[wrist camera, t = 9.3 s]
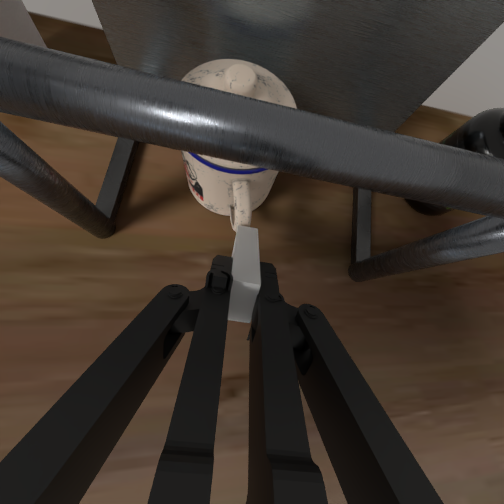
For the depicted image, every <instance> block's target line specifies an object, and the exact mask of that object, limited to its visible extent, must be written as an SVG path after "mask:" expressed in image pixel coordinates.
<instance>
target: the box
mask: <svg viewBox="0 0 504 504" xmlns="http://www.w3.org/2000/svg"><path fill="white" fill-rule="evenodd" d="M92 2H93V5H94V7H95V9H96V12H97V15H98V17H99V20H100V22H101V25H102V27H103V30H104V32H105V35H106V37H107V40H108V43H109V45H110V48H111V50H112V53H113V55H114V58H115V60H116V63H117V65H115V64H111V63H107V62H103V61H99V60H95V59H91V58H86V57H82V56H78V55H74V54H70V53H66V52H62V51H58V50H54V49H49V48H45V47H41V46H37V45H33V44H29V43H25V42H21V41H17V40H13V39H8V38H4V37H0V112H3V113H7V114H12V115H17V116H21V117H26V118H31V119H35V120H40V121H45V122H50V123H54V124H59V125H64V126H68V127H73V128H78V129H82V130H87V131H92V132H96V133H101V134H106V135H111V136H115V137H118V140H117V143H116V146H115V149H114V152H113V155H112V158H111V161H110V164H109V167H108V170H107V173H106V176H105V179H104V182H103V185H102V188H101V191H100V193H99V196H98V199H97V202H96V205H94V204H93V203H92V202H91V201H90V200H88V199H87V198H86V197H85V196H84V195H83V194H82V193H81V192H79V191H78V190H77V189H76V188H75V187H74V186H73V185H71V184H70V183H69V182H68V181H67V180H66V179H65V178H64V177H62V176H61V175H60V174H59V173H58V172H57V171H56V170H55V169H53V168H52V167H51V166H50V165H49V164H48V163H47V162H45V161H44V160H43V159H42V158H41V157H40V156H39V155H38V154H36V153H35V152H34V151H33V150H32V149H31V148H30V147H29V146H27V145H26V144H25V143H24V142H23V141H22V140H21V139H19V138H18V137H17V136H16V135H15V134H14V133H13V132H12V131H10V130H9V129H8V128H7V127H6V126H5V125H4V124H3V123H1V122H0V177H2V178H4V179H5V180H7V181H8V182H10V183H12V184H13V185H15V186H16V187H18V188H20V189H21V190H23V191H24V192H26V193H27V194H29V195H31V196H32V197H34V198H35V199H37V200H39V201H40V202H42V203H43V204H45V205H47V206H48V207H50V208H51V209H53V210H54V211H56V212H58V213H59V214H61V215H62V216H64V217H66V218H67V219H69V220H70V221H72V222H74V223H75V224H77V225H78V226H80V227H82V228H83V229H85V230H86V231H88V232H89V233H91V234H93V235H94V236H96V237H98V238H108V237H110V236H111V235H112V234H113V233H114V231H115V223H114V222H115V219H116V215H117V212H118V209H119V206H120V202H121V199H122V196H123V193H124V189H125V186H126V183H127V180H128V176H129V173H130V170H131V166H132V163H133V160H134V157H135V153H136V150H137V147H138V144H139V142H143V143H148V144H153V145H157V146H162V147H167V148H172V149H176V150H181V151H186V152H190V153H195V154H200V155H204V156H209V157H214V158H218V159H223V160H228V161H233V162H237V163H242V164H247V165H251V166H256V167H261V168H265V169H270V170H275V171H279V172H284V173H289V174H294V175H298V176H303V177H308V178H312V179H317V180H322V181H326V182H331V183H336V184H340V185H345V186H350V187H354V189H353V216H352V244H351V265H350V266H349V269H348V273H349V276H350V277H351V279H352V280H354V281H356V282H361V281H366V280H370V279H375V278H380V277H385V276H390V275H395V274H399V273H404V272H409V271H414V270H419V269H424V268H429V267H433V266H438V265H443V264H448V263H453V262H458V261H463V260H467V259H472V258H477V257H482V256H487V255H492V254H497V253H501V252H504V159H501V158H497V157H493V156H489V155H485V154H480V153H476V152H472V151H468V150H464V149H460V148H456V147H452V146H448V145H443V144H439V143H435V142H431V141H427V140H423V139H419V138H415V137H411V136H407V135H402V134H398V133H394V132H395V131H396V130H397V129H398V128H399V127H400V126H401V125H402V124H403V123H404V122H405V121H406V120H407V119H408V118H409V117H410V115H411V114H412V113H413V112H414V111H415V110H416V109H417V108H418V107H419V106H420V105H421V104H422V103H423V102H424V101H425V100H426V99H427V98H428V97H429V96H430V95H431V94H432V93H433V92H434V91H435V90H436V89H437V88H438V87H439V86H440V85H441V84H442V83H443V82H444V81H445V80H446V79H447V78H448V77H449V76H450V75H451V74H452V73H453V72H454V71H455V70H456V69H457V68H458V67H459V66H460V65H461V64H462V63H463V62H464V61H465V60H466V59H467V58H468V57H469V56H470V55H471V54H472V53H473V52H474V51H475V50H476V49H477V48H478V47H479V46H480V45H481V44H482V43H483V42H484V41H485V40H486V39H487V38H488V37H489V36H490V35H491V34H492V33H493V32H494V31H495V30H496V29H497V28H498V27H499V26H500V25H501V24H502V23H503V22H504V0H92ZM219 59H237V60H243V61H247V62H251V63H254V64H256V65H259V66H261V67H263V68H265V69H267V70H268V71H270V72H271V73H273V74H274V75H275V76H276V77H278V78H279V79H280V80H281V81H282V82H283V83H284V85H285V86H286V87H287V88H288V90H289V91H290V93H291V95H292V96H293V98H294V101H295V104H296V107H297V109H296V108H292V107H288V106H283V105H279V104H275V103H271V102H267V101H263V100H259V99H255V98H251V97H246V96H242V95H238V94H234V93H230V92H226V91H222V90H218V89H214V88H210V87H205V86H201V85H197V84H193V83H189V82H185V81H181V80H182V79H183V78H184V77H185V75H186V74H188V73H189V72H190V71H191V70H193V69H194V68H196V67H197V66H199V65H201V64H204V63H206V62H209V61H213V60H219ZM371 191H373V192H378V193H383V194H387V195H392V196H397V197H401V198H406V199H411V200H416V201H420V202H425V203H430V204H434V205H439V206H444V207H448V208H453V209H458V210H462V211H467V212H472V213H477V214H481V215H486V217H483V218H480V219H478V220H475V221H472V222H469V223H466V224H463V225H460V226H458V227H455V228H452V229H449V230H446V231H443V232H440V233H438V234H435V235H432V236H429V237H426V238H423V239H420V240H418V241H415V242H412V243H409V244H406V245H403V246H400V247H398V248H395V249H392V250H389V251H386V252H383V253H381V254H378V255H375V256H372V257H370V242H371Z"/></svg>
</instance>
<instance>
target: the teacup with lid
mask: <svg viewBox="0 0 504 504" xmlns="http://www.w3.org/2000/svg"><path fill="white" fill-rule="evenodd" d="M181 81H185V82H189V83H193V84H197V85H201V86H205V87H210V88H214V89H218V90H222V91H226V92H230V93H234V94H238V95H242V96H246V97H251V98H255V99H259V100H263V101H267V102H271V103H275V104H279V105H283V106H288V107H292V108H296V109H297V107H296V104H295V101H294V98H293V96H292V95H291V93H290V91H289V90H288V88H287V87H286V86H285V85H284V83H283V82H282V81H281V80H280V79H279V78H278V77H276V76H275V75H274V74H273V73H271V72H270V71H268V70H267V69H265V68H263V67H261V66H259V65H256V64H254V63H251V62H247V61H243V60H237V59H219V60H213V61H209V62H206V63H204V64H201V65H199V66H197V67H196V68H194V69H193V70H191V71H190V72H189V73H188V74H186V75H185V77H184V78H183V79H182V80H181ZM181 152H182V156H183V161H184V166H185V171H186V175H187V180H188V185H189V188H190V190H191V192H192V194H193V195H194V197H195V198H196V200H197V201H198V202H199V203H200V204H201V205H203V206H204V207H205V208H207V209H208V210H210V211H212V212H215V213H218V214H221V215H227V216H230V219H231V225H232V228H233V230H234V231H235V232H237V227H238V225H241V226H246V227H250V224H251V214H252V211H253V210H254V209H256V208H257V207H259V206H260V205H261V204H262V203H263V202H264V200H265V199H266V197H267V196H268V194H269V191H270V189H271V187H272V185H273V183H274V180H275V178H276V176H277V174H278V172H279V171H275V170H270V169H265V168H261V167H256V166H251V165H247V164H242V163H237V162H233V161H228V160H223V159H218V158H214V157H209V156H204V155H200V154H195V153H190V152H186V151H181Z"/></svg>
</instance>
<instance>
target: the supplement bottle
mask: <svg viewBox="0 0 504 504" xmlns="http://www.w3.org/2000/svg"><path fill="white" fill-rule="evenodd" d="M439 144H443V145H448V146H452V147H456V148H460V149H464V150H468V151H472V152H476V153H480V154H485V155H489V156H493V157H497V158H501V159H504V108H494V109H490V110H486V111H483V112H481V113H479V114H477V115H476V116H474V117H473V118H472V119H470V120H469V121H467V122H466V123H465V124H463V125H462V126H461V127H459V128H458V129H457V130H456V131H454V132H453V133H452V134H450V135H449V136H448V137H446V138H445V139H444V140H442V141H441V142H440V143H439ZM404 199H405V200H406V202H407V203H408V204H409V205H410V206H411V207H412V208H413V209H415V210H416V211H418V212H420V213H422V214H425V215H431V216H435V215H441V214H444V213H446V212H449V211H451V210H454V209H453V208H448V207H444V206H439V205H434V204H430V203H425V202H420V201H416V200H411V199H406V198H404Z"/></svg>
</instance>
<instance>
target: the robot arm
mask: <svg viewBox="0 0 504 504" xmlns="http://www.w3.org/2000/svg"><path fill="white" fill-rule="evenodd" d="M276 274H277V273H276V268H275V267H274V266H273V264H271V263H265V262H260V260H259V241H258V229H257V228H251V227H246V226H241V225H238V227H237V232H236V237H235V242H234V247H233V253H232V257H227V256H221V255H217V256H216V257H215V258H214V259H213V262H212V266H211V270H210V271H209V272H208V273H207V277H206V284H205V287H204V288H202V289H201V290H198V291H189V290H188V289H187V288H186V287H184V286H182V285H178V284H172V285H168V286H166V287H164V288H163V289H162V290H161V291H160V292H159V293H158V294H157V295H156V296H155V297H154V298H153V299H152V301H151V302H150V303H149V304H148V305H147V306H146V307H145V308H144V309H143V310H142V311H141V312H140V313H139V314H138V316H137V317H136V318H135V319H134V320H133V321H132V322H131V323H130V324H129V325H128V326H127V327H126V328H125V329H124V330H123V332H122V333H121V334H120V335H119V336H118V337H117V338H116V339H115V340H114V341H113V342H112V343H111V344H110V345H109V347H108V348H107V349H106V350H105V351H104V352H103V353H102V354H101V355H100V356H99V357H98V358H97V359H96V360H95V362H94V363H93V364H92V365H91V366H90V367H89V368H88V369H87V370H86V371H85V372H84V373H83V374H82V375H81V377H80V378H79V379H78V380H77V381H76V382H75V383H74V384H73V385H72V386H71V387H70V388H69V389H68V390H67V391H66V393H65V394H64V395H63V396H62V397H61V398H60V399H59V400H58V401H57V402H56V403H55V404H54V405H53V406H52V408H51V409H50V410H49V411H48V412H47V413H46V414H45V415H44V416H43V417H42V418H41V419H40V420H39V421H38V423H37V424H36V425H35V426H34V427H33V428H32V429H31V430H30V431H29V432H28V433H27V434H26V435H25V436H24V438H23V439H22V440H21V441H20V442H19V443H18V444H17V445H16V446H15V447H14V448H13V449H12V450H11V451H10V452H9V454H8V455H7V456H6V457H5V458H4V459H3V460H2V461H1V462H0V504H79V502H80V501H81V499H82V498H83V496H84V494H85V493H86V491H87V490H88V488H89V486H90V485H91V483H92V482H93V480H94V478H95V477H96V475H97V474H98V472H99V470H100V469H101V467H102V466H103V464H104V462H105V461H106V459H107V458H108V456H109V454H110V453H111V451H112V450H113V448H114V446H115V445H116V443H117V442H118V440H119V438H120V437H121V435H122V434H123V432H124V430H125V429H126V427H127V426H128V424H129V423H130V421H131V419H132V418H133V416H134V415H135V413H136V411H137V410H138V408H139V407H140V405H141V403H142V402H143V400H144V399H145V397H146V395H147V394H148V392H149V391H150V389H151V387H152V386H153V384H154V383H155V381H156V379H157V378H158V376H159V375H160V373H161V371H162V370H163V368H164V367H165V365H166V363H167V362H168V360H169V359H170V357H171V355H172V354H173V352H174V351H175V349H176V347H177V346H178V344H179V343H180V341H181V339H182V338H183V336H184V335H185V332H191V331H194V333H193V337H192V341H191V345H190V348H189V352H188V356H187V360H186V364H185V368H184V372H183V376H182V380H181V384H180V388H179V392H178V395H177V399H176V403H175V407H174V411H173V415H172V419H171V423H170V427H169V431H168V435H167V439H166V442H165V446H164V449H163V451H162V453H161V456H160V459H159V462H158V466H157V469H156V473H155V477H154V481H153V485H152V489H151V492H150V496H149V500H148V504H210V494H211V484H212V475H213V463H214V454H213V452H214V441H215V432H216V422H217V413H218V404H219V395H220V386H221V376H222V367H223V358H224V349H225V340H226V331H227V321H228V320H232V321H239V322H246V323H250V322H251V318H252V324H251V328H250V331H249V335H248V339H247V340H249V339H250V360H249V464H248V495H247V501H246V504H328V501H327V496H326V491H325V486H324V481H323V477H322V474H321V471H320V469H319V467H318V466H317V465H316V464H315V463H314V462H313V460H312V458H311V454H310V448H309V442H308V437H307V431H306V425H305V419H304V413H303V407H302V401H301V395H300V389H299V384H300V386H301V389H302V391H303V394H304V396H305V399H306V401H307V404H308V406H309V408H310V411H311V413H312V416H313V418H314V421H315V423H316V426H317V428H318V431H319V433H320V436H321V438H322V441H323V443H324V446H325V448H326V451H327V453H328V456H329V458H330V461H331V463H332V466H333V468H334V471H335V473H336V476H337V478H338V481H339V483H340V486H341V488H342V491H343V493H344V496H345V498H346V501H347V503H348V504H444V503H443V502H442V500H441V499H440V497H439V496H438V494H437V492H436V491H435V489H434V488H433V486H432V485H431V483H430V481H429V480H428V478H427V477H426V475H425V474H424V472H423V470H422V469H421V467H420V466H419V464H418V463H417V461H416V459H415V458H414V456H413V455H412V453H411V451H410V450H409V448H408V447H407V445H406V444H405V442H404V440H403V439H402V437H401V436H400V434H399V433H398V431H397V429H396V428H395V426H394V425H393V423H392V422H391V420H390V418H389V417H388V415H387V414H386V412H385V411H384V409H383V407H382V406H381V404H380V403H379V401H378V400H377V398H376V396H375V395H374V393H373V392H372V390H371V389H370V387H369V385H368V384H367V382H366V381H365V379H364V377H363V376H362V374H361V373H360V371H359V370H358V368H357V366H356V365H355V363H354V362H353V360H352V359H351V357H350V355H349V354H348V352H347V351H346V349H345V348H344V346H343V344H342V343H341V341H340V340H339V338H338V337H337V335H336V333H335V332H334V330H333V329H332V327H331V326H330V324H329V322H328V321H327V319H326V318H325V316H324V314H323V313H322V312H321V311H320V309H318V308H317V307H315V306H313V305H310V304H303V305H301V306H300V307H299V308H296V307H294V306H291V305H289V304H287V303H286V302H285V301H284V298H283V296H282V295H281V294H280V293H279V287H278V280H277V275H276ZM298 381H299V383H298Z"/></svg>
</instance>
